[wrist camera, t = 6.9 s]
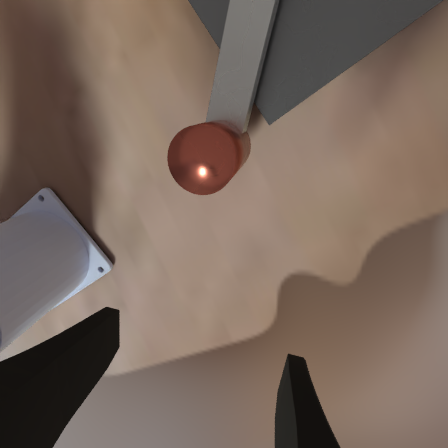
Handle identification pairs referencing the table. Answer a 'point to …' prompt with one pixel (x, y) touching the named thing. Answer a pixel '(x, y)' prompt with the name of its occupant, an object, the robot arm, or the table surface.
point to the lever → (226, 103)
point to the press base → (315, 42)
